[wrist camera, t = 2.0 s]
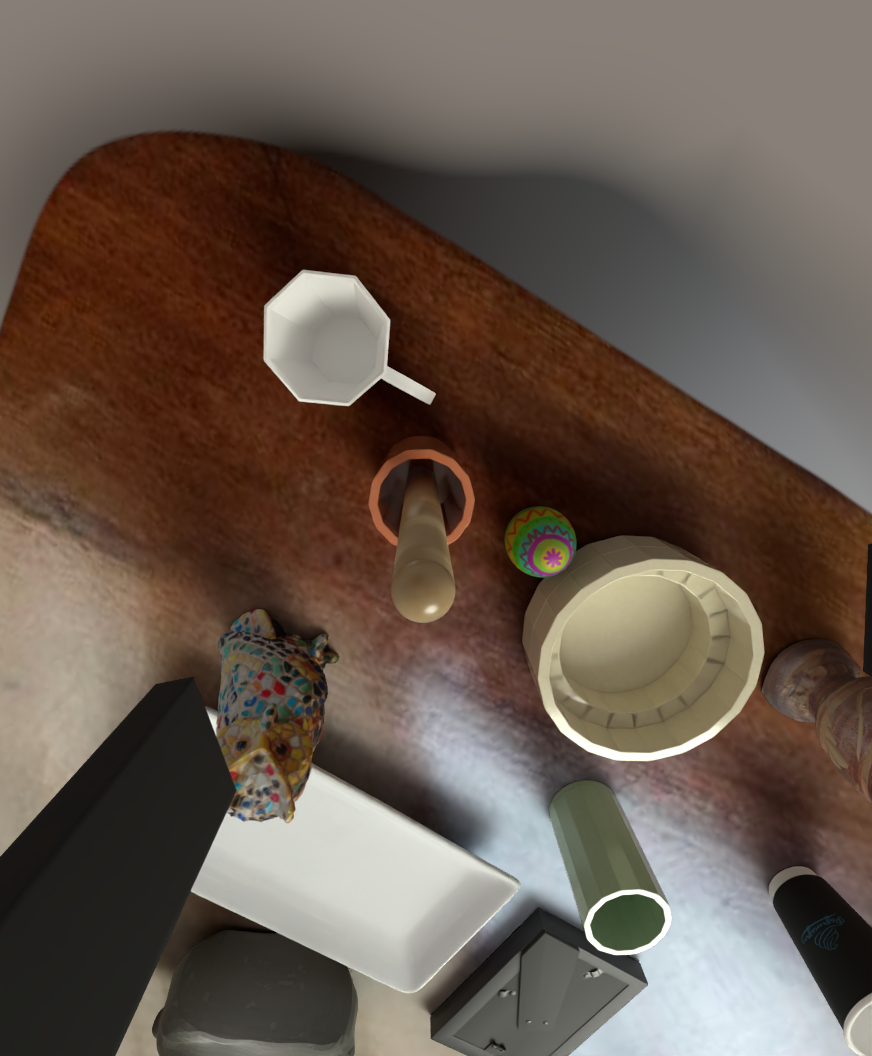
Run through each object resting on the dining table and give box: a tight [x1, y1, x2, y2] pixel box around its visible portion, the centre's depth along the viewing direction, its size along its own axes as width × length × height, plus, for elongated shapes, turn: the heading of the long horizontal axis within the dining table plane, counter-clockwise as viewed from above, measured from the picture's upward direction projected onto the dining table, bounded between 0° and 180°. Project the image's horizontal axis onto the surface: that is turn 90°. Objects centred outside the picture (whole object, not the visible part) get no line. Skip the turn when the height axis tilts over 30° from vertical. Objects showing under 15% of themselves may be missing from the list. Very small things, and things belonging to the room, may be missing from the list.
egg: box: [505, 506, 577, 577], centre depth 35 cm, size 5×5×6 cm
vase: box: [549, 780, 672, 955], centre depth 40 cm, size 6×6×10 cm
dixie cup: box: [769, 866, 872, 1056], centre depth 43 cm, size 8×8×11 cm
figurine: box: [216, 609, 339, 823], centre depth 32 cm, size 9×9×15 cm
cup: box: [264, 270, 436, 406], centre depth 30 cm, size 7×10×8 cm
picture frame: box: [430, 908, 648, 1056], centre depth 50 cm, size 13×2×18 cm
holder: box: [368, 435, 475, 546], centre depth 32 cm, size 6×6×9 cm
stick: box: [391, 465, 455, 623], centre depth 25 cm, size 2×2×22 cm
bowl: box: [522, 536, 764, 761], centre depth 37 cm, size 16×16×6 cm
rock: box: [152, 930, 358, 1056], centre depth 45 cm, size 18×11×8 cm, turn 77°
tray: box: [191, 706, 521, 993], centre depth 43 cm, size 17×32×4 cm, turn 54°
